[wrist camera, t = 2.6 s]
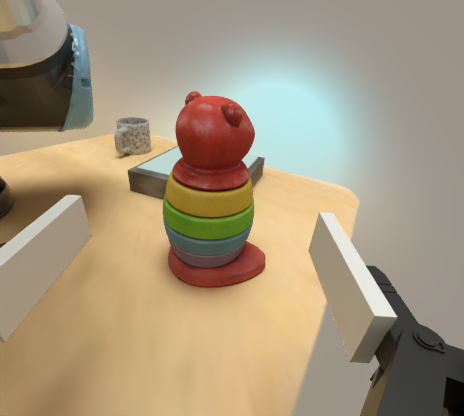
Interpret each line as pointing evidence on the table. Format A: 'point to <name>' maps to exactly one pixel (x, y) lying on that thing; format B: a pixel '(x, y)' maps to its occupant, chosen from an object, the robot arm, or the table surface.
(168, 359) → the table surface
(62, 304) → the table surface
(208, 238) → the stacking bear
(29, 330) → the table surface
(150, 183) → the plinth
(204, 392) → the table surface
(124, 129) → the mug
